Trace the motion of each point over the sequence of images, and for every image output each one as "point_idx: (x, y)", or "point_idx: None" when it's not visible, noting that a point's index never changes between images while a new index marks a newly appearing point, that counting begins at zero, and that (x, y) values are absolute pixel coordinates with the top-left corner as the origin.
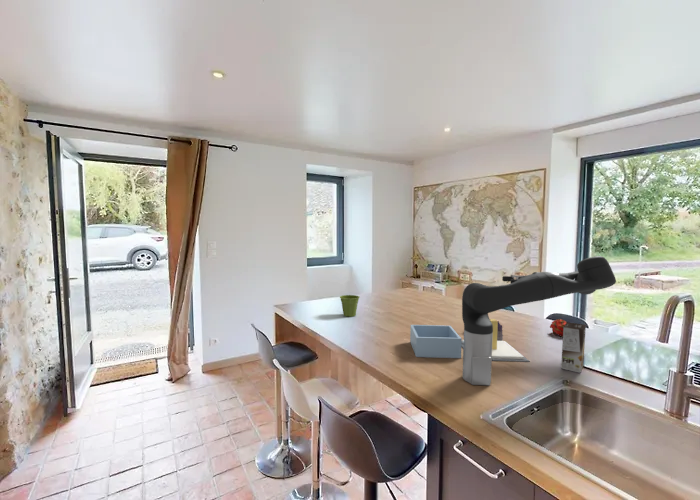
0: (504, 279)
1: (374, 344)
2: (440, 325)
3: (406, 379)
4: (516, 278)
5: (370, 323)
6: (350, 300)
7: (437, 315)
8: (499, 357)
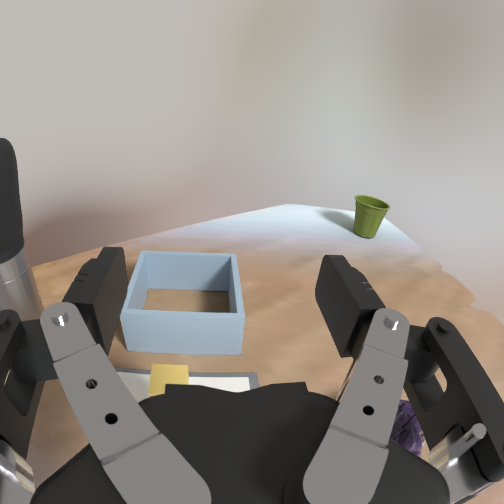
0: (323, 288)
1: (210, 248)
2: (241, 297)
3: (67, 264)
4: (351, 371)
5: (333, 250)
6: (358, 203)
7: (471, 346)
8: None
